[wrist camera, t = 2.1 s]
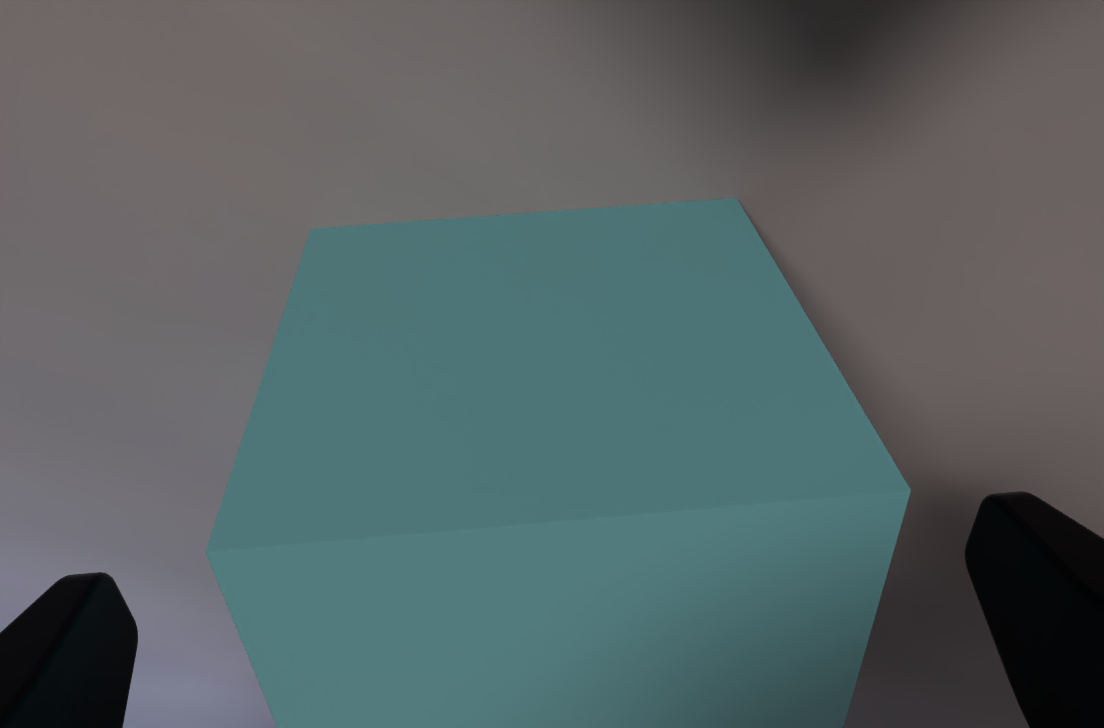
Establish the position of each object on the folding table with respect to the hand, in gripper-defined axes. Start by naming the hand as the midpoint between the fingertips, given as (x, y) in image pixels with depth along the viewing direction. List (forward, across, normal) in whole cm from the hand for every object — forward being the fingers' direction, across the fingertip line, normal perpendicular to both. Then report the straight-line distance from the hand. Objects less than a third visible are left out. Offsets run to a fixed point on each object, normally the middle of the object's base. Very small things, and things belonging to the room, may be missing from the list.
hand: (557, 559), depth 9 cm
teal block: (+3, 0, 0) cm, 3 cm away
